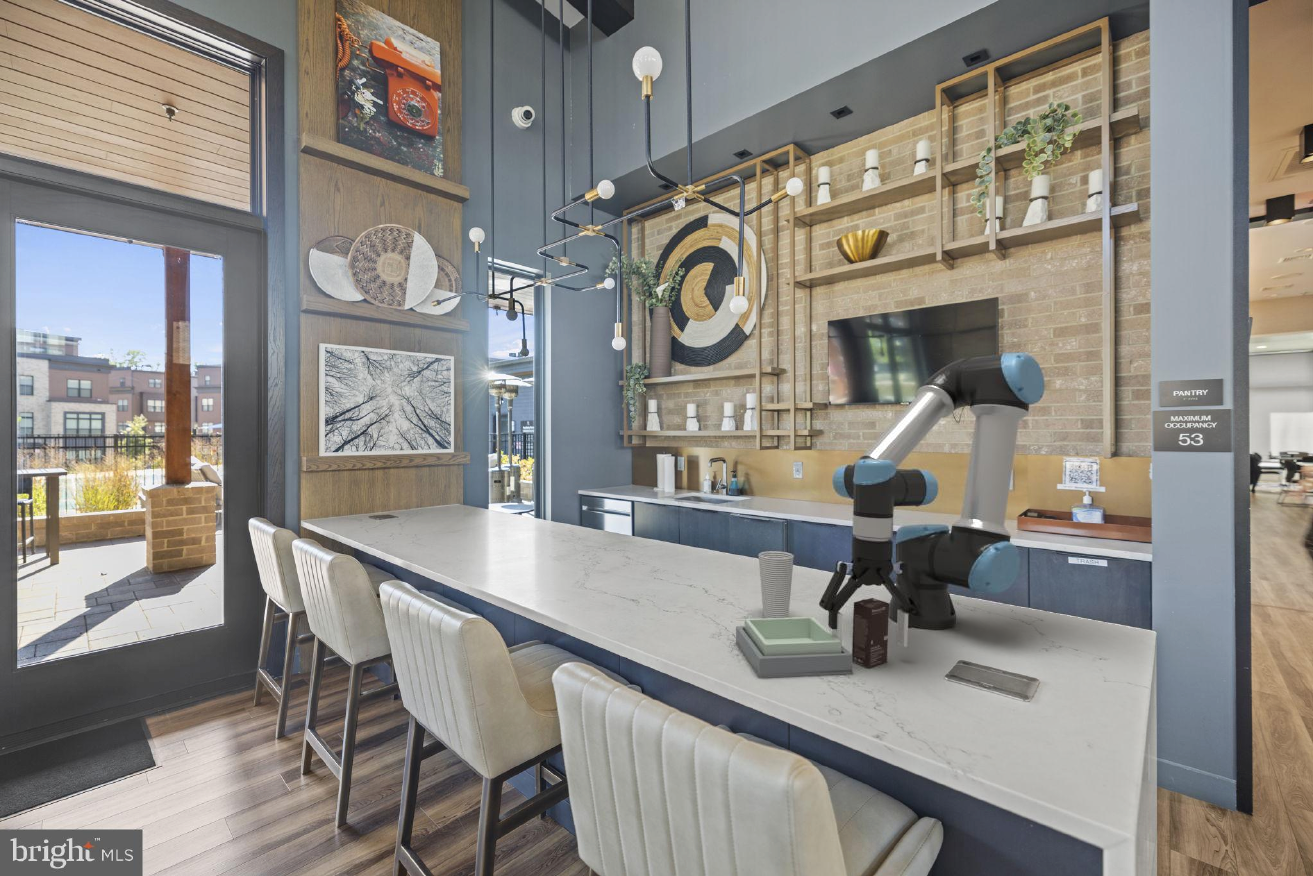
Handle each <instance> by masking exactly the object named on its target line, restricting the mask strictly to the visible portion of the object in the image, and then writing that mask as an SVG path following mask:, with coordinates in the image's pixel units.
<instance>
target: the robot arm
mask: <svg viewBox="0 0 1313 876" xmlns="http://www.w3.org/2000/svg"><path fill="white" fill-rule="evenodd" d="M1044 393H1045V376H1044V373H1043V370H1042V368H1041V367H1040V364H1039V362H1038V361H1037V360H1036V358H1034V356H1032V355H1031V354H1029V353H1025V352H1013V353H1012V352H1005V353H1002V354H993V355H987V356H977V357H968V358H966V357H965V358H960V359H958V360H956V361H953V362H951V363H949V364H948V365H946V366H943V367H942V368H940V369H939V370H938V371H937V372H935V373H933V374H932V376H930V377H928V379H927V380H925V382H923V384H922V385H920V387H919V388H918V389H917V390H916V392H915V396H914V399H913V401H911V403H909V405H908V406H907V407H906V408H904V410H903V411H902V412H901V413H900V414H899V415H898V416H897V418H896V419H895V420H893V422H892V423H891V424H890V425H889V426H888V427H887V428H886V429H885V430H884V432H883V433H882V434H881V435H880V436H879V437H878V438H877V439H876V440H875V441H874V442H873V443H872V445H871V446H870V447H868V449H867V450H865V452H864V453H863V454H862V455H861V456H860V457H859V458H858V459H857V461H856V462H855V463H854V464H846V465H842V466H839V467H838V468H837V469H836V470H835V471H834V472H833V476H832V486H833V489H834V492H835V493H836V494H837V495H839V496H840V497H843V498H845V499H851V500H853V501H852V502H853V510H852V534H853V535H854V536H853V538H852V539H851V540H852V541H851V545H852V546H851V557H852V558H851V561H850V562H843V561H841V560H837V561H836V562H835V569H834V572H833V575H832V576H831V579H830V580H829V582H828V584H827V587H826V588H825V590H824V593H823V594H822V597H820V600H819V601H818V602H819V603H818V604H819V607H820V608H821V609H823V610H824V611H826V612H828V617H827V618H828V619H827V620H828V621H827V622H828V623H827V624H828V627H829V628H830V629H832V632H831V633H832V634H833V635H834V636H835V637H837V638H838V639H839V640H840V641H841V642H842V641H843V640H842V639H843V614H842V613H841V612H840V610H841V609H842V608H843V606H845V604H847V602H848V601H849V600H850V598H851V597H852V596H853V595H854V593H856V592H857V590H858V589H860V588H862V586H863V585H864V586H867V587H869V586H877V587H879V586H880V587H881V586H882V585H883V586H884V588H885V589H886V590H887V591H888V593H889V594H890V595H891V598H890V601H889V618H890V619H891V620H892V621H894V622H896V643H897V644H898V645H900V646H902V647H904V648H907V647H908V643H909V642H908V640H909V638H908V637H909V635H908V634H909V629H911V628H912V627H914V628H920V629H926V630H927V629H930V630H945V629H950V628H954V627H955V626H956V625H957V613H956V610H955V609H956V608H955V606H954V603H953V600H952V598H951V594H950V591H949V585H953V586H955V587H959V588H963V589H967V590H972V591H973V592H977V593H985V594H991V595H997V594H1001V593H1003V592H1005V591H1006V590H1007V589H1008V588H1009V587H1011V586H1012V585H1013V583H1014V582H1015V580H1016V578H1017V576H1018V573H1019V572H1020V571H1019V570H1020V565H1021V556H1020V555H1019V554H1020V552H1019V549H1018V548H1017V546H1016V545H1015V544H1013V543H1012V542H1011V537H1012V535H1011V533H1010V532H1009V531H1008V530H1007V529H1006V527H1005V522H1006V516H1007V515H1006V513H1007V509H1008V500H1009V494H1010V488H1011V480H1012V472H1013V467H1014V461H1015V460H1014V459H1015V453H1016V446H1017V439H1018V431H1019V424H1020V422H1021V420H1023V419H1024V418H1026V417H1027V416H1028V415H1029V411H1030V410H1029V409H1030V406H1031V405H1035V404H1037V403H1039V402H1041V399H1042V398H1043V396H1044ZM964 407H965V408H966V407H969V411H970V412H971V413H972V414H973V416H975V420H974V428H973V432H972V433H973V435H972V441H971V447H970V454H969V461H968V466H967V467H968V468H967V474H966V482H965V488H964V494H963V501H962V507H961V514H960V518H959V520H957V521H955V522H953V523H952V524H951V530H950V529H949V526H948V525H947V524H941V523H940V524H939V523H936V524H933V523H930V524H929V523H928V524H926V523H925V524H910V525H902V526H900V527H899V528H898V529H897V530H896V538H895V539H896V540H895V543H894V542H893V541H892V540H891V538H893V537H894V514H895V513H894V508H895V507H920V506H927V505H929V504H932V503H933V502H934V501H935V500H936V499H937V497H938V493H939V483H938V480H937V478H936V476H935V475H934V474H933V473H932V472H930V471H928V470H925V469H919V468H912V469H909V468H908V469H905V468H898V467H900V465H901V464H902V463H903V461H905V459H907V457H908V456H909V455H910V454H911V453H912V451H914V450H915V448H916V447H917V446H918V445H919V444H920V442H922V440H924V438H925V437H926V436H927V435H928V434H929V433H930V431H932V429H933V428H934V427H935V426H936V425H937V424H938V422H939V421H940V420H941V419H943V418H944V419H945V418H948V417H950V415H952V413H954V411H956V410H957V409H959V408H960V409H961V408H964ZM893 543H894V544H895V562H892V558H893V549H894V548H893V547H894V546H893V545H894V544H893ZM850 571H851V572H852V574H851V575H850V577H849V578H848V579H847V582H846V583H845V584H844V583H843V582H844V580H845V578H846V575H847V574H849V573H850ZM892 572H894V573H895V582H894V580H892V578H891V574H892ZM842 584H844V585H843V586H842ZM841 586H842V588H841Z"/></svg>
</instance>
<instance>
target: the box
mask: <svg viewBox="0 0 1313 876" xmlns="http://www.w3.org/2000/svg"><path fill="white" fill-rule="evenodd" d="M889 604H890V602H887V601H884V600H880V599H877V598H874V597H871V598H870V597H869V598H867V599H861V600H858V601H854V602H853V612H852V613H853V616H852V617H853V619H852V642H851V643H852V644H851V645H852V648H851V654H852V663H855V664H857V665H859V666H862V667H863V668H868V669H870V668H873V667H875V666H878V665H881V664H884V663H887V662H888V644H889V643H888V641H889V639H888V638H889V636H888V635H889V618H890V617H889Z"/></svg>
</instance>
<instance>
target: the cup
mask: <svg viewBox="0 0 1313 876" xmlns="http://www.w3.org/2000/svg"><path fill="white" fill-rule="evenodd" d="M794 556H795V555H794V554H792V553H790V552H785V551H777V550H776V551H775V550H774V551H773V550H771V551H769V550H767V551H761V552H759V553H758V562H759V564H758V565H759V576H760V577H759V578H760V588H761V601H762V613H763V618H789V613H790V604H791V603H790V601H791V591H792V579H793V571H794V570H793V568H794Z"/></svg>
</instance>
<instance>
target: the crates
mask: <svg viewBox="0 0 1313 876" xmlns="http://www.w3.org/2000/svg"><path fill="white" fill-rule="evenodd" d="M735 643H736V645H737V647H738V648H739V650H740V651H741V652H742V654H743V655H744V657H745V659H746V660H747V661H748V663H749V665H750V666H751V668H752V670H754V672H755V673H756V674H755V675H757V677H758V678H759V679H765V678H766V679H767V678H789V677H812V676H814V677H815V676H816V677H817V676H832V675H833V676H836V675H853V661H852V652H850V651H849V650H848V649H846V648H845V647H844V646H843V643H842V642H841V641H840V640H839V639H838V638H837V637H835V636H834V635H833V634H832V632H830V631H829V630H828V628H826V627H825V626H824V625H822V624H821V622H819V621H818V620H817V619H815V618H814V617H813V616H802V617H801V616H800V617H799V616H798V617H797V616H796V617H788V618H765V617H763V618H744V625H736V626H735Z"/></svg>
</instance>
